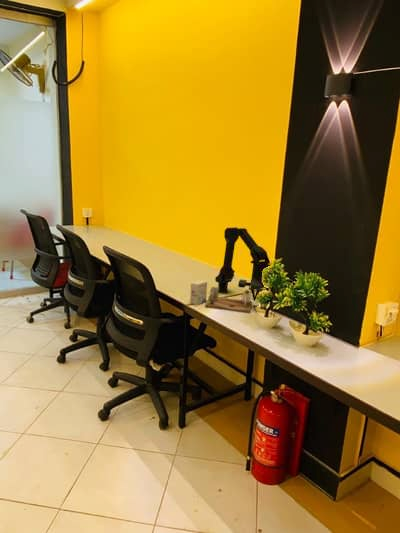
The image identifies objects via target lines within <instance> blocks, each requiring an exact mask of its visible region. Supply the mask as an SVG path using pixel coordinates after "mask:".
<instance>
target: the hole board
mask: <svg viewBox="0 0 400 533" xmlns="http://www.w3.org/2000/svg"><path fill="white" fill-rule="evenodd" d="M244 303H245V302H243V301H242V299H237V298H229V297H223V296H221V297H220V296H218V298H213V303H211V298H210V295H208V299H207V300H206V302H205V303H204V304H205V305H204V308H208V309H217V310H222V311H223V310H224V311H228V312H236V313H245V314H250V313H251V310H252V306H253V301H251V300H250V302H246V307H244Z"/></svg>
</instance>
